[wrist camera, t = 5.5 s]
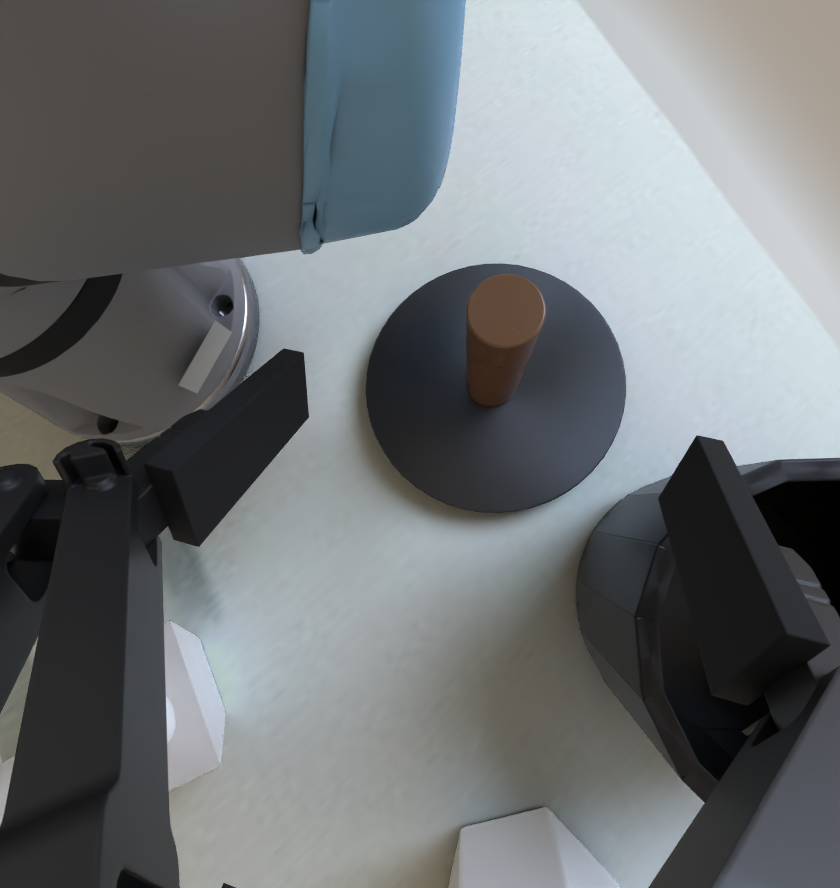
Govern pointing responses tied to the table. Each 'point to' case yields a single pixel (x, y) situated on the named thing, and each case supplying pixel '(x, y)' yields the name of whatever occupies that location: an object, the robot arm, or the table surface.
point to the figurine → (179, 713)
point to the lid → (495, 388)
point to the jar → (525, 855)
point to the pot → (667, 617)
